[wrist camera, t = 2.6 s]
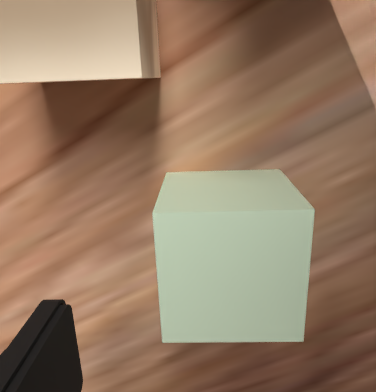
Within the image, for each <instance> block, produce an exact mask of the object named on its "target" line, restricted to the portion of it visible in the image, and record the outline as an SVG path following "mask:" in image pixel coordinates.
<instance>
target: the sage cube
mask: <svg viewBox="0 0 376 392" xmlns="http://www.w3.org/2000/svg"><path fill="white" fill-rule="evenodd" d="M314 213H315V209H314V208H313V207H312V206H311V204H310V203H309V202H308V201H307V200H306V199H305V198H304V196H303V195H302V194H301V193H300V192H299V191H298V190H297V188H296V187H295V186H294V185H293V184H292V183H291V182H290V180H289V179H288V178H287V177H286V176H285V175H284V174H283V172H282V171H281V170H280V169H265V170H230V171H195V172H166V175H165V178H164V181H163V184H162V187H161V190H160V193H159V195H158V198H157V201H156V204H155V207H154V210H153V213H152V215H153V228H154V241H155V254H156V267H157V280H158V293H159V306H160V319H161V333H162V343H193V342H303V340H304V329H305V317H306V306H307V294H308V282H309V271H310V259H311V248H312V236H313V224H314Z"/></svg>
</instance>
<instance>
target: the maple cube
mask: <svg viewBox="0 0 376 392" xmlns="http://www.w3.org/2000/svg"><path fill="white" fill-rule="evenodd" d="M142 78H161V71H160V54H159V37H158V20H157V3H156V0H0V84H6V83H40V82H66V81H91V80H117V79H142Z"/></svg>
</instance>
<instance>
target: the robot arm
mask: <svg viewBox="0 0 376 392" xmlns="http://www.w3.org/2000/svg"><path fill="white" fill-rule="evenodd" d="M82 384H83V377H82V370H81V364H80V358H79V351H78V345H77V339H76V332H75V326H74V320H73V313H72V308H71V306H70V305H66V303H65V301H64V300H43V301H42V302H41V303H40V304H39V305H38V307H37V308H36V309H35V311H34V312H33V313H32V315H31V316H30V318H29V319H28V320H27V322H26V323H25V324H24V326H23V327H22V328H21V330H20V331H19V333H18V334H17V335H16V337H15V338H14V339H13V341H12V342H11V344H10V345H9V346H8V348H7V349H6V350H4V351H3V353H2V354H1V355H0V392H81V390H82Z"/></svg>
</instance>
